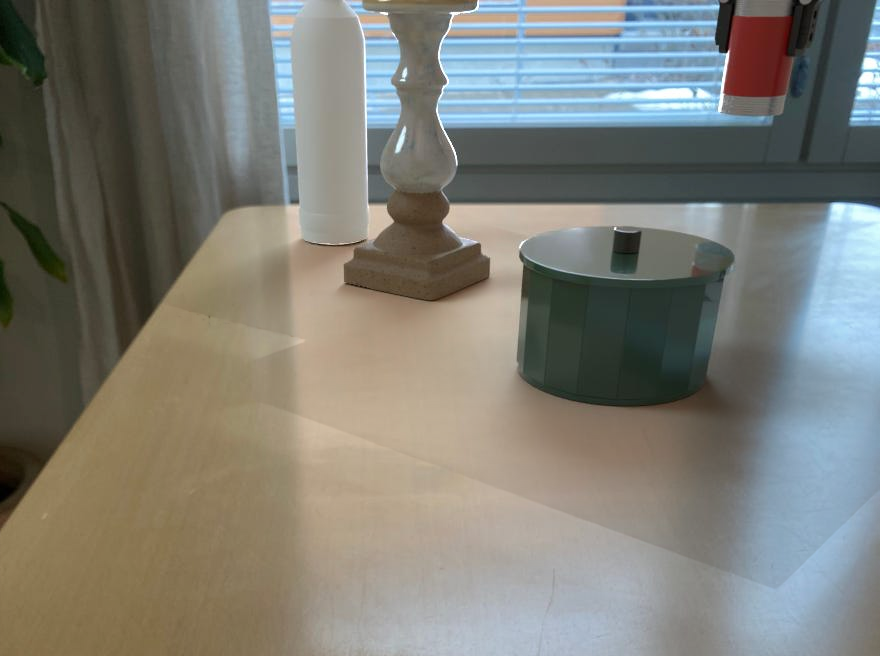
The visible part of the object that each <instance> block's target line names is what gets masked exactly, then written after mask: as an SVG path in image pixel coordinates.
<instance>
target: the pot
mask: <svg viewBox="0 0 880 656" xmlns="http://www.w3.org/2000/svg"><path fill="white" fill-rule="evenodd" d="M521 275H522V277H521V292H520V307H519V321H518V332H517V333H518V335H517V348H516V349H517V350H516V362H517V369H518V370H517V371H518V374H519V375H520V376H521V378H522V379H523V380H524V381H525V382H526V383H528V384H529V385H531V386H532V387H534V388H536V389H538V390H540V391H542V392H545V393H547V394H550V395H553V396H555V397H559V398H563V399H566V400H571V401H576V402H580V403H586V404H592V405H593V404H594V405H604V406H619V407H637V406H653V405H660V404H666V403H671V402H675V401H680V400H682V399H684V398H687V397H690V396H692V395H694V394H696V393H697V392H698V391H699V390H701V389H702V387H703V386H704V385H705V383H706V379H707V375H708V370H709V363H710V360H711V359H710V358H711V354H712V348H713V344H714V338H715V332H716V327H717V321H718V315H719V311H720V305H721V301H722V295H723V290H724V284H725V278H726V276H724V277H723V278H720V279H718V280H715V281H711V282H708V283H704V284H699V285H693V286H686V287H676V288H660V289H631V288H613V287H603V286H594V285H587V284H580V283H575V282H569V281H565V280H561V279H557V278H553V277H550V276H547V275H544V274H541V273H539V272H536V271H534V270H532V269H530V268H528V267H527V266H526V265H524V264H523V263H522V274H521Z"/></svg>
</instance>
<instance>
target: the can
mask: <svg viewBox="0 0 880 656" xmlns="http://www.w3.org/2000/svg"><path fill="white" fill-rule="evenodd" d="M798 5H800V1H799V0H736V3H735V9H734V15H733V18H732V25H731V31H730V38H729V44H728V50H727V54H726V57H725V63H724V70H723V76H722V83H721V89H720V100H719V105H718V112H719V113H720V114H722V115H726V116H736V117H755V118H756V117H774V116H780V115H782V114H783V113H784V109H785V102H786V99H787V94H788V90H789V85H790V80H791V74H792V69H793V64H794V60H795V59H794V58H795V57H789V56H787V49H788V44H789V38H790V33H791V28H792V22H793V17H794V12H795V6H798Z"/></svg>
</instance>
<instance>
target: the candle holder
mask: <svg viewBox="0 0 880 656" xmlns="http://www.w3.org/2000/svg"><path fill="white" fill-rule="evenodd" d="M361 7H362V9H363V10H364V11H367V12H369V13H379V14H383V15H386V17H387V19H388V23H389V28H390V30H391V33H392V34H393V36H394V37H395V39H396V41H397V43H398V48H399V51H400V52H399V53H400V56H399V62H398V65H397V68H396V70H395V72H394V74H393V75H392V77H391V78H390V84H391V85H392V86H393V87H394V88H395V90H396V91H395V94H396V95H397V97H398V100H399V103H400V110H401V111H400V115H399V117H398V120H397V123H396V125H395V127H394V129H393V132H392V133H391V135H390V137H389V139H388V140H387V142H386V144H385V146H384V148H383V151H382V153H381V156H380V161H379V168H380V173H381V176H382V177H383V179H384V180H385V182H386V183H387V184H388V185H390V186H391V187H392V188H394V192H393V193H392V194H391V196H390V197H389V199H388V200H387V203H386V211H387V214H388V215H389V217H390V218H391V219H392V221H393V222H392V223H391V224H389V225H388V226H387V227H385V228H384V229H383V230H381V232H380V233H379V234H378V235H377V236H376V238H374V239H371V240H368V241H366V242H364V243H363V242H362V243H361V244H359V245H357V246H355V247H354V249H353V250H352V252H353V257H352V258H351V259H350V260H348V261H347V262H345V263H344V264H343V283H344V282H346V283H345V284H347V283H350V284H349V285H351V284H354V285H353V286H355V285H358V286H357V287H360V286H363V287H362V288H364V287H367V288H366V289H369V288H370V289H369V290H376V291H379V292H385V293H388V294H389V293H390V294H394V295H398V296H399V295H400V296H403V297H408V298H414V299H419V300H425V301H436V300H438V299H441V298H444V297H446V296H449V295H450V294H454V293H456V292H458V291H461V290H462V289H465V288H467V287H469V286H471V285H474V284H476V283H479V282H481V281H483V280H486V279H487V278H489V277H490V276H491V257H490V256H488V255H486V254H484V253H483V252H482V244H481V243H480V241H477V240H473V239H468V238H464V237H460V236H459V235H458V234H457V233H456V232H455V231H454V230H453V229H452V228H450V227H449V226H448V225H446V224H445V223H444V222H443V221H444V220H445V218H446V217H447V216H448V214H449V213H450V208H451V207H450V206H451V204H450V201H449V199H448V198H447V195H445V194H444V192H443V189H444V188H445V187H447V186H448V185H449V184H450V183H451V182H452V181H453V180H454V178H455V177H456V174H457V170H458V159H457V155H456V151H455V148H454V147H453V145H452V142H451V141H450V139H449V137H448V135H447V133H446V131H445V130H444V127H443V124H442V122H441V120H440V117H439V113H438V104H439V101H440V99H441V97H442V95H443V94H444V91H443V90H444V88H445V87H446V86H447V85H448V84H449V79H448V76H447V75H446V74H445V72H444V70H443V67H442V64H441V61H440V51H441V46H442V43H443V40H444V38H445V37H446V35H447V34H448V33H449V31H450V29H451V25H452V19H453V18H454V16H455V15H458V14H460V13H461V14H462V13H463V14H465V13H471V12H474V11H476V10H478V8H479V0H361Z"/></svg>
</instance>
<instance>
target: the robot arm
mask: <svg viewBox="0 0 880 656" xmlns="http://www.w3.org/2000/svg"><path fill="white" fill-rule="evenodd" d="M799 1H800V5H798V6H795V12H794V17H793V22H792V28H791V33H790V38H789V44H788V49H787V56H789V57H794V58H797V57H803V56H804V54H805V52H806V49H810V48H811V46H812V44H813V43H814V39H815V33H816V28H817V25H818V24H817V23H818V19H819V13H820V8H821V6H822V4H823V3H824V2H825V1H826V0H799ZM717 2H718V5H719V7H718V14H717V20H716V28H715V33H714V43H715V46H718V53H719V54H725V55H727V50H728V44H729V38H730V31H731V25H732V18H733V15H734V9H735V3H736V0H717Z"/></svg>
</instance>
